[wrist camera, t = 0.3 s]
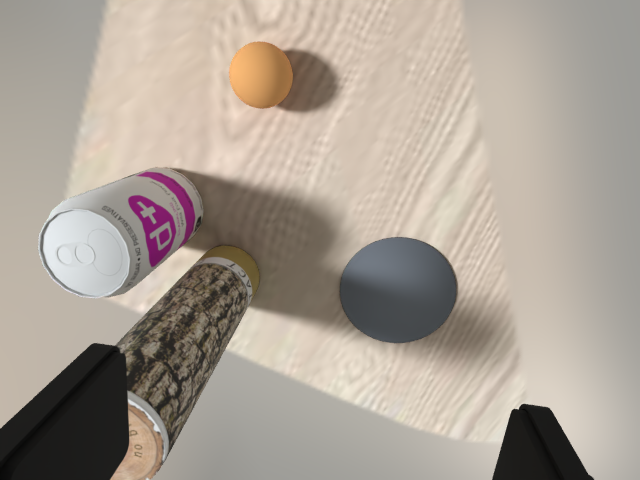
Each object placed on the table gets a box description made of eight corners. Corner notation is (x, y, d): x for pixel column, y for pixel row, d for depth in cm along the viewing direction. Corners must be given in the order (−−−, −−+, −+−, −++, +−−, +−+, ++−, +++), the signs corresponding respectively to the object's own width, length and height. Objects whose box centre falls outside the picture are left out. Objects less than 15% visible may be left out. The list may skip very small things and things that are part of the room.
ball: (227, 66, 43) (208, 63, 38) (276, 32, 42) (263, 24, 37) (259, 118, 44) (245, 122, 39) (307, 86, 43) (300, 86, 38)
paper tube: (207, 305, 51) (71, 491, 27) (192, 247, 49) (31, 395, 25) (267, 298, 50) (178, 485, 26) (254, 239, 48) (146, 384, 25)
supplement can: (197, 162, 46) (122, 195, 32) (211, 240, 49) (148, 303, 34) (121, 169, 47) (16, 204, 33) (139, 245, 50) (48, 308, 35)
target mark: (318, 271, 49) (318, 272, 48) (421, 216, 46) (422, 216, 46) (375, 359, 51) (375, 359, 51) (475, 312, 48) (476, 312, 48)
